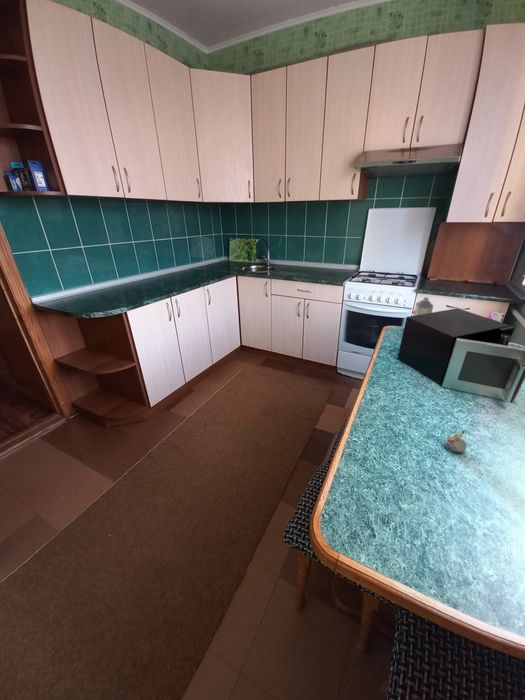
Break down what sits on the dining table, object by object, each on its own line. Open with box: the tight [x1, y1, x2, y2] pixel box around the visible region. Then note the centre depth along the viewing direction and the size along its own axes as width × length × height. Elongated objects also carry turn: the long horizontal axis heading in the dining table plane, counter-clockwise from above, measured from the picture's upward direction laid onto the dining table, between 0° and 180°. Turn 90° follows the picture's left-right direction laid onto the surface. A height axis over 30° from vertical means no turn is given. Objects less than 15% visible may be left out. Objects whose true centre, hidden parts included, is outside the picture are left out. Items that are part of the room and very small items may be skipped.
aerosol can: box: [412, 296, 434, 316], centre depth 128 cm, size 7×7×20 cm
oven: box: [397, 308, 516, 385], centre depth 107 cm, size 22×26×18 cm
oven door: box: [441, 338, 525, 404], centre depth 89 cm, size 8×20×18 cm, turn 63°
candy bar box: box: [486, 311, 506, 323], centre depth 116 cm, size 11×5×16 cm, turn 137°
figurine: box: [444, 429, 468, 454], centre depth 73 cm, size 5×4×6 cm
